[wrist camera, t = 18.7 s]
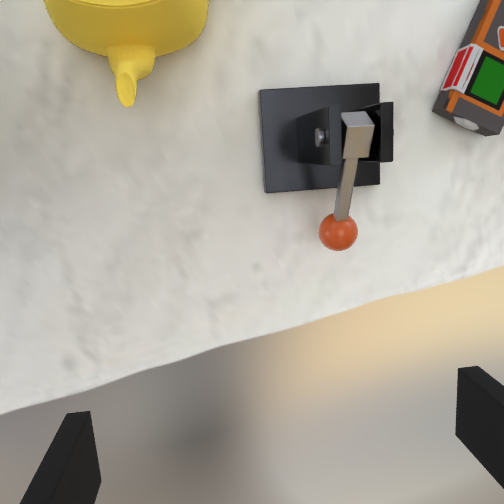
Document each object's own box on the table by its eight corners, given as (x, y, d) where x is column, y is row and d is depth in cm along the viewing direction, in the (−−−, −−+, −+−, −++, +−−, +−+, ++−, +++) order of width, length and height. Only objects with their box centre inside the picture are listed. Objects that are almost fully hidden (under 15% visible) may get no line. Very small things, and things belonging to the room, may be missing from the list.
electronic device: (567, -11, 43) (500, 137, 45) (544, 0, 46) (481, 139, 48) (509, -44, 42) (442, 110, 44) (489, -30, 45) (427, 114, 47)
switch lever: (348, 232, 45) (359, 257, 42) (313, 235, 45) (321, 260, 42) (371, 107, 36) (387, 128, 34) (327, 109, 36) (339, 131, 33)
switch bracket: (375, 183, 48) (436, 194, 36) (264, 192, 47) (286, 206, 34) (375, 84, 46) (439, 59, 33) (258, 91, 45) (279, 67, 32)
